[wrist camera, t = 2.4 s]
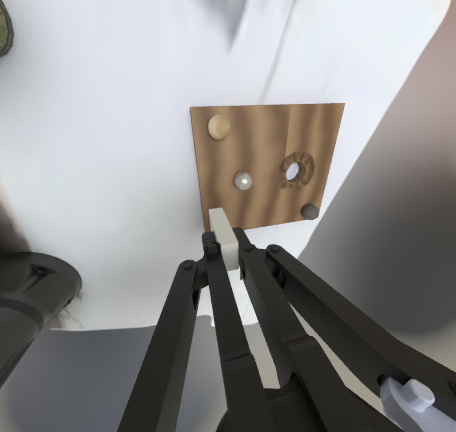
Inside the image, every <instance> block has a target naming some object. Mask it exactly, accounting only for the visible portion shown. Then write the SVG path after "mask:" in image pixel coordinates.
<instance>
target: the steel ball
mask: <svg viewBox="0 0 456 432" xmlns="http://www.w3.org/2000/svg"><path fill="white" fill-rule="evenodd" d="M234 184H235V186H236V187H237V188H238V189H239V190H242V191H245V190H248V189H249V188H250V187H251V186H252V184H253V178H252V176H251V174H250V173H248V172H245V171H243V172H239V173H238V174H237V175H236V176H235V179H234Z"/></svg>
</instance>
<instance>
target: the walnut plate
mask: <svg viewBox="0 0 456 432" xmlns="http://www.w3.org/2000/svg"><path fill="white" fill-rule="evenodd" d="M344 106H345V103H329V104H289V105H248V106H208V107H190V113H191V121H192V129H193V137H194V145H195V153H196V162H197V170H198V178H199V186H200V194H201V202H202V210H203V218H204V226H205V232H211V227H210V217H209V209H215V208H223V210H224V213H225V215H226V217H227V219H228V221H229V223H230V226H231V228H235V227H240V228H242V229H243V230H246V229H252V228H258V227H265V226H271V225H277V224H283V223H289V222H295V221H301V220H308V219H305V218H304V217H303V215H302V210H303V208H304V207H305V206H307V205H314V206H316V207H317V208H318V209H319V211H320V207H321V202H322V198H323V194H324V190H325V186H326V181H327V177H328V173H329V169H330V165H331V161H332V156H333V152H334V148H335V144H336V140H337V135H338V131H339V127H340V123H341V119H342V114H343V110H344ZM215 115H223V116H225V117H226V118H227V119H228V121H229V123H230V133H229V135H228V136H227V137H226V138H225V139H222V140H217V139H214V138H213V137H212V136H211V135H210V133H209V130H208V124H209V121H210V119H211V118H212V117H213V116H215ZM294 162H298V165H299V171H298V173H297V175H296V177H294V178H293V179H291V180H287V178H286V172H287V170H288V168H289V166H290V165H291V164H293V163H294ZM243 171H245V172H248V173H250V174H251V176H252V178H253V184H252V186H251V187H250V188H249V189H248V190H245V191H242V190H239V189H238V188H237V187H236V186H235V184H234V179H235V176H236V175H237V174H238V173H239V172H243ZM317 218H318V217H317Z"/></svg>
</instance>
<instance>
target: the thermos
mask: <svg viewBox="0 0 456 432" xmlns="http://www.w3.org/2000/svg"><path fill="white" fill-rule="evenodd" d="M13 35H14V33H13V28H12V23H11V19H10V17H9V15H8V12H7V10H6V8H5V6H4V4H3V2H2V1H1V0H0V57H1V56H3V55H6V53H7V52H8V51H9V49H10V48H11V46H12V41H13Z"/></svg>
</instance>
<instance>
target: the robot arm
mask: <svg viewBox="0 0 456 432" xmlns="http://www.w3.org/2000/svg"><path fill="white" fill-rule="evenodd" d="M209 217H210V227H211V232H205V233H203V235H202V242H203V250H204V256H203V258H202V259H200V260H199V261H197V262H195V261H193V260H186V261H184V262H182V263H181V264H180V265H179V267H178V269H177V272H176V275H175V277H174V280H173V283H172V285H171V288H170V291H169V294H168V296H167V299H166V302H165V304H164V307H163V310H162V312H161V315H160V318H159V320H158V323H157V326H156V328H155V331H154V334H153V336H152V339H151V342H150V345H149V347H148V350H147V353H146V355H145V358H144V361H143V363H142V366H141V369H140V372H139V374H138V377H137V379H136V382H135V385H134V388H133V390H132V393H131V396H130V398H129V401H128V403H127V406H126V409H125V412H124V414H123V417H122V420H121V422H120V425H119V428H118V431H117V432H175V430H176V425H177V419H178V413H179V408H180V402H181V397H182V392H183V386H184V381H185V375H186V369H187V364H188V359H189V353H190V348H191V342H192V336H193V331H194V326H195V320H196V315H197V310H198V304H199V299H200V293H201V289H202V288H204V287H206V286H208V285H209V290H210V296H211V303H212V309H213V316H214V323H215V329H216V336H217V342H218V349H219V355H220V362H221V368H222V374H223V382H224V388H225V395H226V402H227V408H228V410H227V411H226V413H225V414H224V415H223V417H222V419H221V421H220V423H219V425H218V427H217V430H216V432H456V372H454V371H452V370H450V369H448V368H447V367H445V366H443V365H442V364H440V363H438V362H436V361H434V360H433V359H431V358H429V357H427V356H425V355H424V354H422V353H420V352H418V351H416V350H415V349H413V348H411V347H410V346H408V345H406V344H404V343H402V342H400V341H399V340H397V339H396V338H395V337H394V336H392V335H391V334H390V333H388V332H387V331H386V330H385V329H384V328H382V327H381V326H380V325H379V324H377V323H376V322H375V321H374V320H372V319H371V318H370V317H368V316H367V315H366V314H365V313H363V312H362V311H361V310H360V309H359V308H357V307H356V306H355V305H353V304H352V303H351V302H350V301H348V300H347V299H346V298H345V297H343V296H342V295H341V294H340V293H338V292H337V291H336V290H335V289H333V288H332V287H331V286H330V285H328V284H327V283H326V282H325V281H323V280H322V279H321V278H320V277H318V276H317V275H316V274H315V273H313V272H312V271H311V270H310V269H308V268H307V267H306V266H305V265H303V264H302V263H301V262H299V261H298V260H297V259H296V258H295V257H293V256H292V255H291V254H290V253H288V252H287V251H286V250H285V249H283V248H282V247H281V246H279V245H275V244H272V245H269V246H267V248H266V249H258V248H256V247H255V245H253V244H251V243H250V241H249V239H248V238H247V236H246V234H245V232H244V231H243V229H242V228H240V227H235V228H231V226H230V223H229V221H228V219H227V217H226V215H225V213H224V210H223V208H215V209H209ZM239 266H240V279H241V280H242V279H243V281H244V284H245V287H246V289H247V292H248V295H249V297H250V300H251V303H252V305H253V308H254V311H255V313H256V316H257V319H258V321H259V324H260V327H261V329H262V332H263V335H264V337H265V340H266V343H267V345H268V348H269V351H270V353H271V356H272V359H273V361H274V364H275V367H276V371H277V376H278V381H279V384H280V389H269V388H263V384H262V381H261V378H260V375H259V371H258V368H257V365H256V362H255V359H254V356H253V355H252V353H251V351H250V349H249V345H248V342H247V339H246V335H245V332H244V328H243V325H242V321H241V318H240V315H239V311H238V308H237V304H236V301H235V298H234V294H233V291H232V287H231V284H230V280H229V277H228V274H227V271H230V270H235V269H239ZM80 287H81V279H80V277H79V275H78V273H77V272H76V271H75V270H74V269H73V268H72V267H71V266H70V265H68V264H67V263H65V262H64V261H62V260H59V259H57V258H54V257H52V256H48V255H44V254H38V253H14V254H9V255H6V256H3V257H0V388H1V387H2V385H3V384H4V383H5V381H6V380H7V378H8V377H9V375H10V374H11V372H12V371H13V369H14V368H15V367H16V365H17V364H18V362H19V361H20V359H21V358H22V356H23V355H24V354H25V352H26V351H27V349H28V348H29V346H30V345H31V343H32V342H33V341H34V339H35V338H36V336H37V335H38V333H39V332H40V331H41V329H42V328H43V326H44V325H45V324H46V323H47V322H49V321H50V320H51V319H52V318H53V317H54V316H56V315H57V314H58V313H59V312H60V311H61V310H62V309H63V308H65V307H66V306H67V305H69V304H70V303H71V302H72V301H73V299H74V298H75V296H76V295H77V293H78V292H79V290H80ZM287 300H288V301H287ZM289 303H290V304H291V305H292V306H293V307H294V308H295V309H296V311H297V312H298V313H299V314H300V315H301V316H302V317H303V318H304V319H305V321H306V322H307V323H308V324H309V325H310V326H311V327H312V328H313V330H314V331H315V332H316V333H317V334H318V335H319V336H320V337H321V338H322V339H323V341H324V342H325V343H326V344H327V345H328V346H329V347H330V349H331V350H332V351H333V352H334V353H335V354H336V355H337V356H338V357H339V359H340V360H341V361H342V362H343V363H344V364H345V365H346V366H347V367H348V368H349V370H350V371H351V372H352V373H353V374H354V375H355V376H356V377H357V378H358V379H359V380H360V381H361V382H362V383H363V384H364V385H365V386H366V387H367V388H369V390H371V391H372V392H373V393H374V394H375V395H376V396H378V397H379V398H380V399H381V401H382V404H383V410H384V412H385V414H386V416H387V417H388V418H389V419H390V420H389V419H388V418H387V417H385V416H384V415H383V414H381V413H380V412H379V411H377V410H376V409H375V408H373V407H372V406H371V405H369V404H368V403H367V402H366V401H364V400H363V399H362V398H360V397H359V396H358V395H356V394H355V393H354V392H352V391H351V390H350V389H348V388H347V387H346V386H345V385H344V383H343V381H342V380H341V378H340V377H339V375H338V373H337V372H336V370H335V369H334V367H333V365H332V364H331V362H330V360H329V359H328V357H327V356H326V354H325V352H324V351H323V349H322V347H321V346H320V344H319V343H318V341H317V340H316V339H315V338H314V337H313V336H309V335H308V334H307V333H306V331H305V330H304V328H303V326H302V325H301V323H300V321H299V320H298V318H297V316H296V314H295V313H294V311H293V309H292V308H291V306H290V304H289ZM394 423H395V424H394ZM396 424H397V425H399V426H400V427H401V428H402V429H403V430H402V429H401V428H400V427H398V426H397V425H396Z"/></svg>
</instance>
